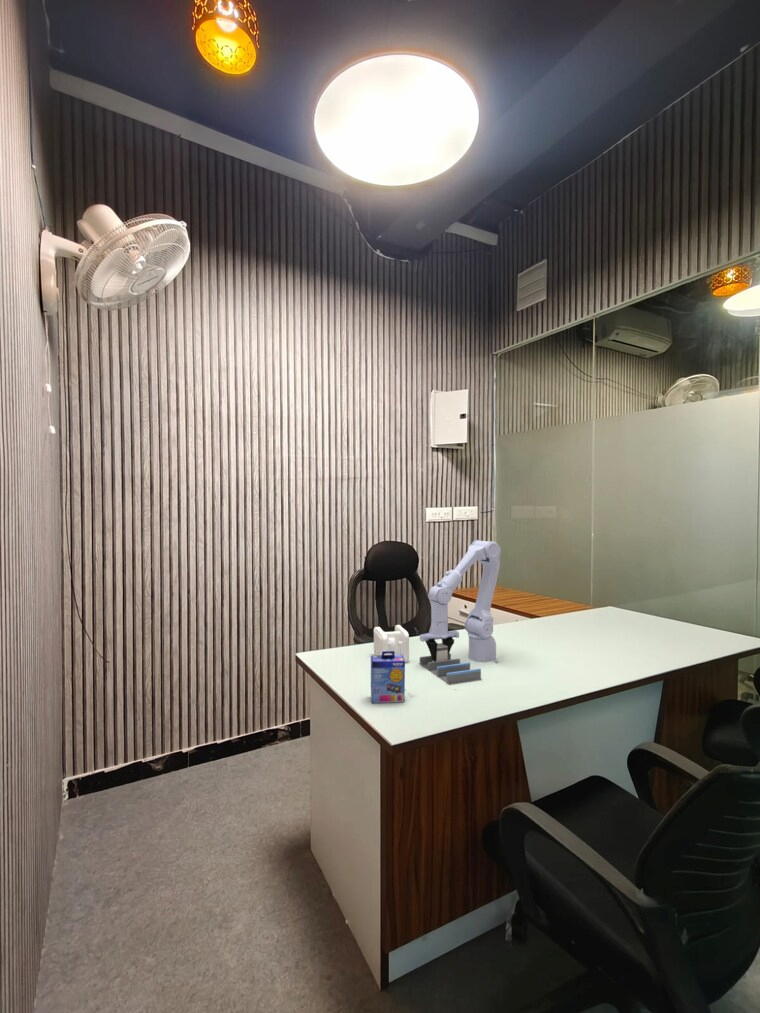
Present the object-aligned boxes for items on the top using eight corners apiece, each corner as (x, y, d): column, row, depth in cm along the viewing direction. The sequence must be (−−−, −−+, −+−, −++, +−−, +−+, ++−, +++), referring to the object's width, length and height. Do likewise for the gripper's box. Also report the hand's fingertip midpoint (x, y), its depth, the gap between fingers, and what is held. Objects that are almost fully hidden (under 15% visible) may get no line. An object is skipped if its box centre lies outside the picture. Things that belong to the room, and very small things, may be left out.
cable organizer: (410, 666, 161) (410, 633, 161) (381, 668, 159) (381, 635, 159) (398, 653, 176) (398, 623, 176) (372, 655, 173) (372, 625, 173)
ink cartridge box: (371, 704, 129) (371, 652, 129) (370, 696, 135) (370, 647, 135) (405, 702, 130) (405, 651, 130) (403, 695, 135) (403, 646, 136)
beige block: (442, 662, 162) (442, 643, 162) (447, 666, 158) (447, 646, 158) (431, 664, 160) (431, 644, 160) (437, 667, 156) (437, 647, 156)
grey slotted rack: (448, 662, 165) (448, 650, 166) (482, 683, 145) (482, 670, 145) (418, 666, 161) (418, 654, 161) (449, 688, 141) (449, 674, 141)
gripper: (426, 625, 153) (426, 665, 153) (463, 621, 158) (463, 660, 158) (417, 620, 160) (417, 659, 159) (453, 617, 165) (453, 655, 164)
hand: (439, 659), depth 159 cm, fingers closed on beige block, 4 cm apart
